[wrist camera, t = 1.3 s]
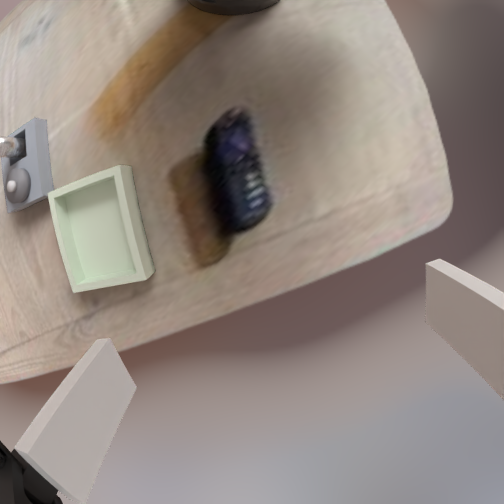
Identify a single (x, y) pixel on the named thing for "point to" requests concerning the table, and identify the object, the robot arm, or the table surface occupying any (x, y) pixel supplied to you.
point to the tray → (101, 230)
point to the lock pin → (12, 147)
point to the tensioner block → (28, 168)
